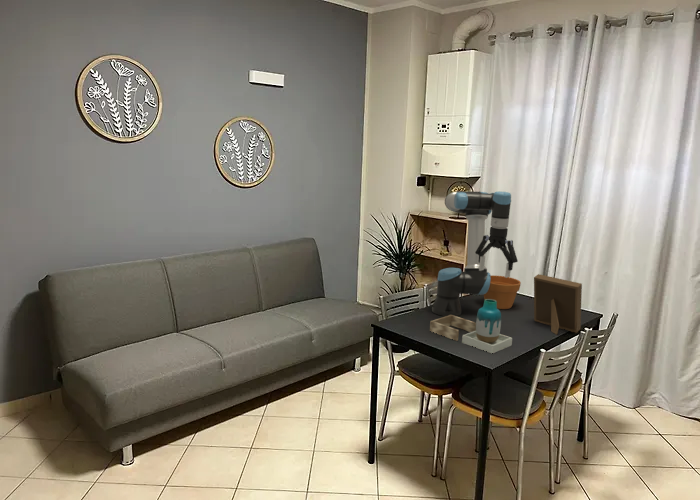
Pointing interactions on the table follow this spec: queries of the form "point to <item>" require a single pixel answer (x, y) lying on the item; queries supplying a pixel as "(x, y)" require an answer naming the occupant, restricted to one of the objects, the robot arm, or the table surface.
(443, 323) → the wooden open crate
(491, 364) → the table surface
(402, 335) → the table surface
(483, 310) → the vase
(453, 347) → the table surface
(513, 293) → the flower pot
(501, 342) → the tray
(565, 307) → the photo frame
